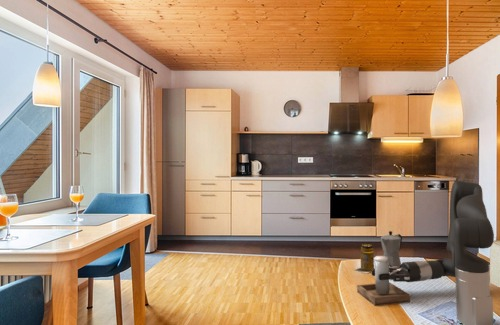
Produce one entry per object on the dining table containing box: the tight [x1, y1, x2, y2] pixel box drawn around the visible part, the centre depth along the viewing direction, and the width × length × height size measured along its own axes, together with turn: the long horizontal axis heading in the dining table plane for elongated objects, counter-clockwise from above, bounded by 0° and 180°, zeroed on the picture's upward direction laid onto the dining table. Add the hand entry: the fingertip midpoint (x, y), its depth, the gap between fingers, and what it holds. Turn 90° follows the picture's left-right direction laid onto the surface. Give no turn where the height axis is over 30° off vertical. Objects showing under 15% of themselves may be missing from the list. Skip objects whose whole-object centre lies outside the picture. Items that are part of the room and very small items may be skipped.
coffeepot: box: [380, 230, 403, 267], centre depth 176 cm, size 15×9×18 cm, turn 125°
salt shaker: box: [374, 255, 390, 294], centre depth 139 cm, size 5×5×13 cm
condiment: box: [354, 243, 375, 274], centre depth 173 cm, size 7×8×12 cm
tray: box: [356, 281, 411, 307], centre depth 139 cm, size 14×14×3 cm
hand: (375, 275), depth 139 cm, fingers closed on salt shaker, 5 cm apart
